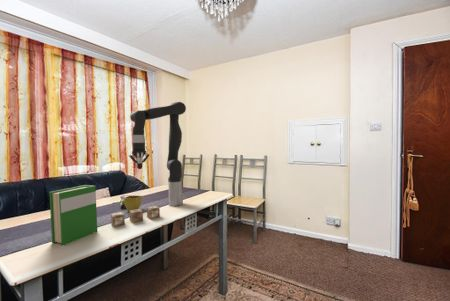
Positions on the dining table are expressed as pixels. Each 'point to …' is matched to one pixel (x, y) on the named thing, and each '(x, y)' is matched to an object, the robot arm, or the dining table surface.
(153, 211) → the labelled block
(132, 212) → the plain block
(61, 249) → the dining table surface
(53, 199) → the hardback book
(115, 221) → the labelled block
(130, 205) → the flower pot
